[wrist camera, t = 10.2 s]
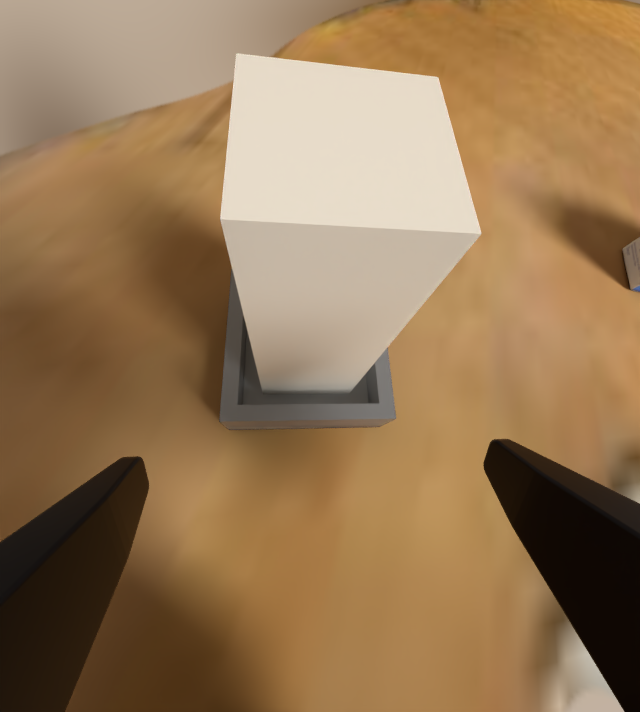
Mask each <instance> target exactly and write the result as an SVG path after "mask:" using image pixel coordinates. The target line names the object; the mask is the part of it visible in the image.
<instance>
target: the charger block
mask: <svg viewBox="0 0 640 712" xmlns="http://www.w3.org/2000/svg"><path fill="white" fill-rule="evenodd" d="M220 221H221V225H222V229H223V233H224V237H225V241H226V245H227V249H228V253H229V257H230V261H231V266H232V270H233V274H234V278H235V282H236V286H237V290H238V294H239V298H240V302H241V306H242V311H243V315H244V319H245V323H246V327H247V331H248V335H249V339H250V343H251V347H252V351H253V356H254V360H255V364H256V368H257V372H258V376H259V380H260V384H261V388H262V392H263V394H329V393H350V392H351V391H352V390H353V388H354V387H355V386H356V385H357V383H358V382H359V381H360V380H361V379H362V377H363V376H364V375H365V374H366V373H367V371H368V370H369V369H370V368H371V367H372V365H373V364H374V363H375V362H376V361H377V359H378V358H379V357H380V356H381V354H382V353H383V352H384V351H385V350H386V348H387V347H388V346H389V345H390V344H391V342H392V341H393V340H394V339H395V338H396V336H397V335H398V334H399V333H400V332H401V330H402V329H403V328H404V327H405V326H406V324H407V323H408V322H409V321H410V319H411V318H412V317H413V316H414V315H415V313H416V312H417V311H418V310H419V309H420V307H421V306H422V305H423V304H424V303H425V301H426V300H427V299H428V298H429V297H430V295H431V294H432V293H433V292H434V290H435V289H436V288H437V287H438V286H439V284H440V283H441V282H442V281H443V280H444V278H445V277H446V276H447V275H448V274H449V272H450V271H451V270H452V269H453V268H454V266H455V265H456V264H457V263H458V262H459V260H460V259H461V258H462V257H463V255H464V254H465V253H466V252H467V251H468V249H469V248H470V247H471V246H472V245H473V243H474V242H475V241H476V240H477V239H478V237H479V236H480V235H481V230H480V227H479V223H478V220H477V216H476V212H475V209H474V205H473V202H472V198H471V194H470V191H469V187H468V184H467V180H466V176H465V173H464V169H463V165H462V162H461V158H460V155H459V151H458V147H457V144H456V140H455V137H454V133H453V129H452V126H451V122H450V119H449V115H448V111H447V108H446V104H445V100H444V97H443V93H442V90H441V86H440V82H439V79H438V77H433V76H424V75H416V74H407V73H399V72H390V71H382V70H373V69H365V68H356V67H348V66H339V65H331V64H322V63H314V62H305V61H297V60H288V59H280V58H271V57H263V56H254V55H246V54H236V63H235V73H234V83H233V93H232V104H231V114H230V124H229V134H228V144H227V155H226V165H225V175H224V185H223V196H222V206H221V216H220Z"/></svg>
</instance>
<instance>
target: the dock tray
mask: <svg viewBox="0 0 640 712" xmlns="http://www.w3.org/2000/svg"><path fill="white" fill-rule="evenodd" d="M395 419H396V414H395V406H394V397H393V389H392V380H391V372H390V364H389V355H388V347H387V348H386V350H385V351H384V352H383V353H382V354H381V356H380V357H379V358H378V359H377V361H376V362H375V363H374V364H373V365H372V367H371V368H370V369H369V370H368V371H367V373H366V374H365V375H364V376H363V377H362V379H361V380H360V381H359V382H358V383H357V385H356V386H355V387H354V388H353V390H352V391H351V392H350V393H329V394H263V392H262V388H261V384H260V380H259V376H258V372H257V368H256V364H255V360H254V356H253V351H252V347H251V343H250V339H249V335H248V331H247V327H246V323H245V319H244V315H243V311H242V306H241V302H240V298H239V294H238V290H237V286H236V282H235V278H234V274H233V270H232V269H231V281H230V294H229V306H228V319H227V331H226V344H225V356H224V369H223V381H222V394H221V407H220V419H219V422H220V423H222V424H223V425H224V426H225V427H226V428H228V429H229V430H251V429H302V428H354V427H380V426H382V425H384V424H386V423H388V422H390V421H393V420H395Z"/></svg>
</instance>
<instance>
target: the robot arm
mask: <svg viewBox="0 0 640 712" xmlns="http://www.w3.org/2000/svg"><path fill="white" fill-rule="evenodd" d="M484 470H485V473H486V475H487V477H488V479H489V481H490V483H491V485H492V487H493V489H494V491H495V493H496V495H497V497H498V499H499V501H500V503H501V505H502V507H503V509H504V511H505V513H506V515H507V517H508V519H509V521H510V523H511V525H512V527H513V529H514V530H515V532H516V534H517V536H518V537H519V539H520V540H521V542H522V544H523V545H524V547H525V549H526V550H527V552H528V554H529V555H530V557H531V559H532V560H533V562H534V564H535V565H536V567H537V568H538V570H539V572H540V573H541V575H542V577H543V578H544V580H545V582H546V583H547V585H548V587H549V588H550V590H551V592H552V593H553V595H554V596H555V598H556V600H557V601H558V603H559V605H560V606H561V608H562V610H563V611H564V613H565V615H566V616H567V618H568V619H569V621H570V623H571V624H572V626H573V628H574V629H575V631H576V633H577V634H578V636H579V638H580V639H581V641H582V643H583V644H584V646H585V647H586V649H587V651H588V652H589V654H590V656H591V657H592V659H593V661H594V662H595V664H596V666H597V667H598V669H599V671H600V672H601V674H602V675H603V677H604V679H605V680H606V682H607V684H608V685H609V687H610V689H611V690H612V692H613V694H614V695H615V697H616V699H617V700H618V702H619V703H620V705H621V707H622V708H623V710H624V712H640V504H639V503H637V502H635V501H633V500H631V499H629V498H627V497H625V496H623V495H621V494H619V493H617V492H615V491H613V490H611V489H609V488H607V487H605V486H603V485H601V484H599V483H597V482H595V481H593V480H590V479H588V478H586V477H584V476H582V475H580V474H578V473H576V472H574V471H572V470H570V469H568V468H566V467H564V466H562V465H560V464H558V463H556V462H554V461H552V460H550V459H548V458H546V457H544V456H542V455H540V454H538V453H536V452H534V451H532V450H530V449H528V448H526V447H524V446H522V445H520V444H517V443H515V442H513V441H511V440H509V439H494V440H492V441H491V442H490V444H489V447H488V450H487V454H486V457H485V460H484ZM148 489H149V481H148V477H147V473H146V469H145V465H144V461H143V459H142V458H141V457H138V456H136V457H123V458H120V459H119V460H117V461H116V462H114V463H113V464H112V465H110V466H109V467H107V468H106V469H104V470H103V471H102V472H100V473H99V474H97V475H96V476H94V477H93V478H92V479H90V480H89V481H87V482H86V483H84V484H83V485H81V486H80V487H79V488H77V489H76V490H74V491H73V492H71V493H70V494H69V495H67V496H66V497H64V498H63V499H61V500H60V501H59V502H57V503H56V504H54V505H53V506H51V507H50V508H48V509H47V510H46V511H44V512H43V513H41V514H40V515H38V516H37V517H36V518H34V519H33V520H31V521H30V522H28V523H27V524H26V525H24V526H23V527H21V528H20V529H18V530H17V531H16V532H14V533H13V534H11V535H10V536H8V537H7V538H5V539H4V540H3V541H1V542H0V712H65V710H66V707H67V705H68V702H69V700H70V698H71V695H72V693H73V690H74V688H75V686H76V683H77V681H78V678H79V676H80V673H81V671H82V669H83V666H84V664H85V661H86V659H87V657H88V654H89V652H90V649H91V647H92V644H93V642H94V640H95V637H96V635H97V632H98V630H99V628H100V625H101V623H102V620H103V618H104V615H105V613H106V611H107V608H108V606H109V603H110V601H111V599H112V596H113V594H114V591H115V589H116V586H117V584H118V582H119V579H120V577H121V574H122V572H123V569H124V567H125V564H126V562H127V559H128V556H129V553H130V550H131V547H132V544H133V540H134V537H135V534H136V530H137V527H138V524H139V520H140V517H141V514H142V510H143V507H144V504H145V500H146V497H147V494H148Z"/></svg>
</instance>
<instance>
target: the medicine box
mask: <svg viewBox="0 0 640 712" xmlns="http://www.w3.org/2000/svg"><path fill="white" fill-rule="evenodd" d="M623 256H624V261H625V267H626V271H627V276H628V280H629V284H630V290H632V291H636V292H640V237H639V238H637V239H636V240H634V241H633V242H631V243H630V244H628V245H627V246H625V247H624V248H623Z"/></svg>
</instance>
